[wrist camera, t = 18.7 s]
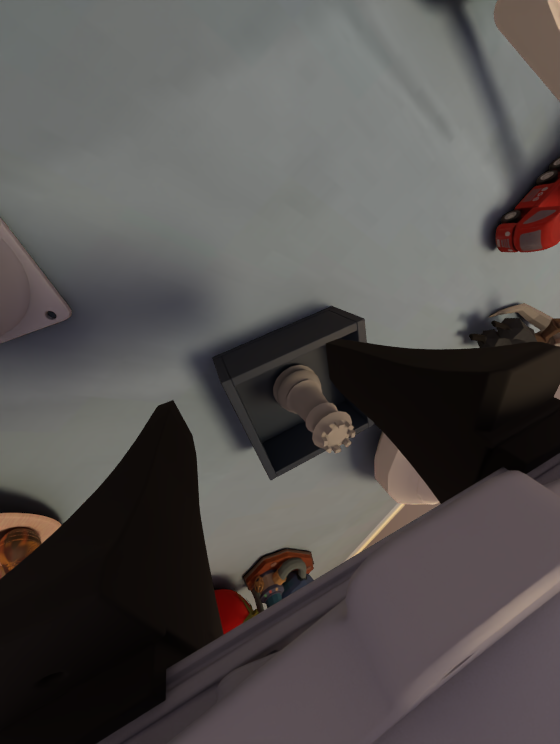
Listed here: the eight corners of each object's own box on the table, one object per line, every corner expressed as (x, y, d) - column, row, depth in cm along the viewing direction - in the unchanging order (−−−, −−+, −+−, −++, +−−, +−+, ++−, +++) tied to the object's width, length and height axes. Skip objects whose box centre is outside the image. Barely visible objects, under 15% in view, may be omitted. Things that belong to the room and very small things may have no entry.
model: (322, 553, 42) (355, 622, 34) (287, 589, 43) (311, 664, 35) (272, 546, 35) (300, 629, 28) (232, 588, 37) (248, 680, 29)
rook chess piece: (321, 383, 25) (375, 434, 18) (287, 411, 25) (328, 473, 18) (299, 353, 22) (353, 399, 16) (261, 385, 22) (299, 444, 16)
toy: (550, 322, 22) (651, 348, 26) (513, 258, 26) (606, 288, 29) (448, 371, 31) (533, 385, 35) (431, 319, 35) (510, 337, 38)
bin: (256, 447, 26) (270, 480, 22) (212, 357, 20) (220, 383, 16) (348, 400, 28) (374, 424, 24) (332, 305, 22) (364, 318, 18)
